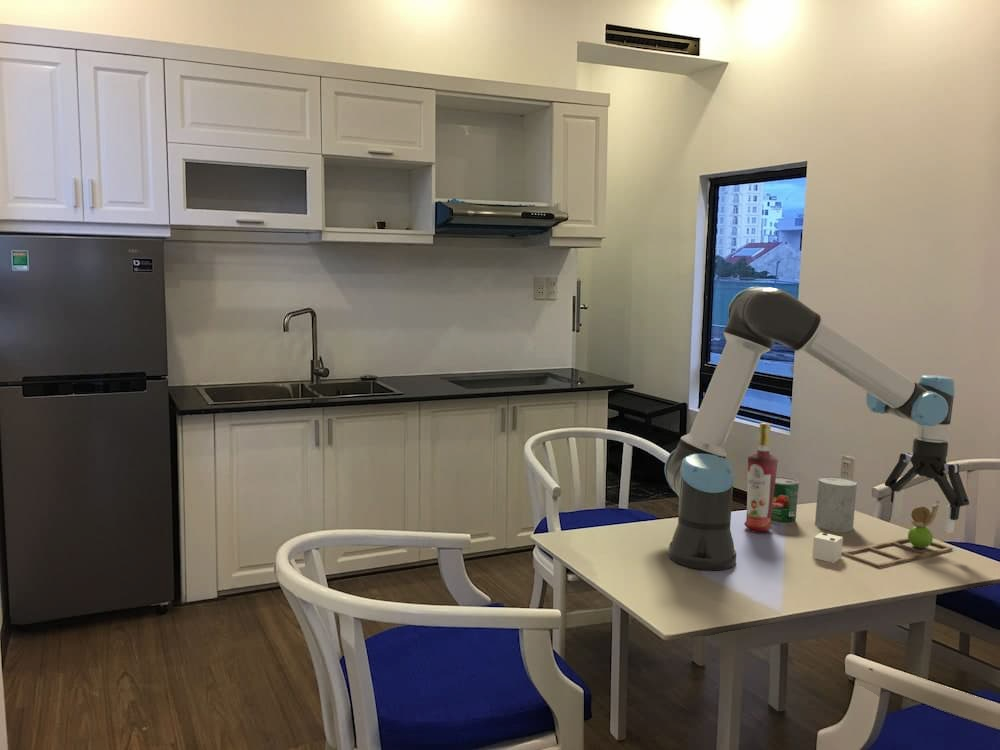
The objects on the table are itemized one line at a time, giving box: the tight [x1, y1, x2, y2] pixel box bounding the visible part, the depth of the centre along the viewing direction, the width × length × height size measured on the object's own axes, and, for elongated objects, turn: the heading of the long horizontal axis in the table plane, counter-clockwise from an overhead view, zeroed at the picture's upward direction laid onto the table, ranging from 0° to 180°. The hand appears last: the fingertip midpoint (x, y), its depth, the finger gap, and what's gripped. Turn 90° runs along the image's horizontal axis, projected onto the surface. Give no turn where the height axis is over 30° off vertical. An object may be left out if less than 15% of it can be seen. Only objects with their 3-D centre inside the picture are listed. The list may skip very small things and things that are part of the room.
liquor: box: [743, 422, 779, 534], centre depth 207 cm, size 7×7×28 cm
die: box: [811, 531, 844, 564], centre depth 189 cm, size 5×5×5 cm
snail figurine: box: [907, 499, 940, 549], centre depth 198 cm, size 5×6×12 cm
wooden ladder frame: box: [841, 537, 954, 569], centre depth 195 cm, size 28×10×1 cm, turn 120°
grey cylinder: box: [814, 476, 858, 533], centre depth 214 cm, size 10×10×12 cm
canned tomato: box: [771, 476, 800, 525], centre depth 218 cm, size 8×8×11 cm
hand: (921, 524), depth 199 cm, fingers open, 13 cm apart
